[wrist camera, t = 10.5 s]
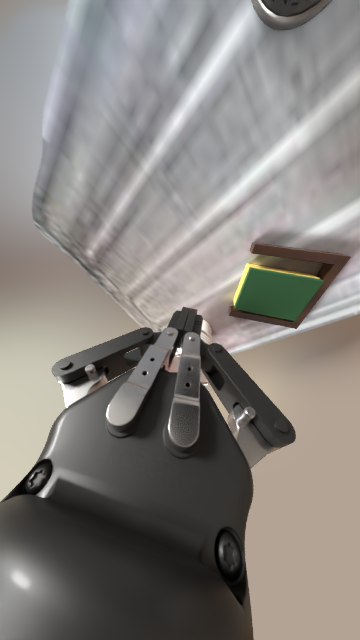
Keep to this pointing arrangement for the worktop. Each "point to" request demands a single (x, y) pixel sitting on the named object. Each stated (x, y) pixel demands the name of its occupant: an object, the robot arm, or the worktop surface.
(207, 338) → the white canister
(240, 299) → the sponge
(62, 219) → the worktop surface
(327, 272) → the sponge rack
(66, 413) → the robot arm
